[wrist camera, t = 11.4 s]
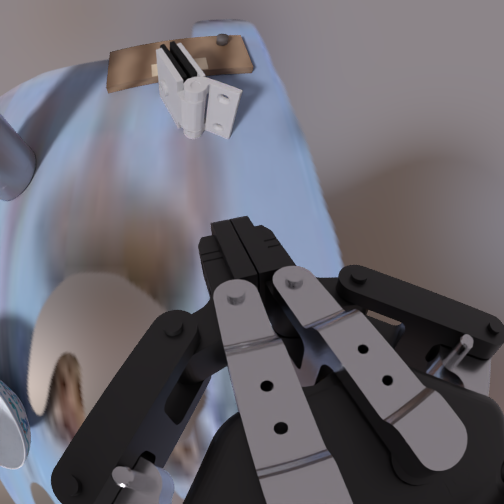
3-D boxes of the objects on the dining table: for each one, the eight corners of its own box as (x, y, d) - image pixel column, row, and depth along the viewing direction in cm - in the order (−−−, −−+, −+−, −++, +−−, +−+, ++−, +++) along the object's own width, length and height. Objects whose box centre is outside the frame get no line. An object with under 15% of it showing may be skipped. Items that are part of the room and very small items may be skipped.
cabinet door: (108, 93, 35) (104, 81, 32) (111, 57, 36) (108, 46, 33) (251, 73, 40) (255, 60, 37) (239, 40, 41) (242, 29, 38)
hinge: (232, 136, 37) (244, 91, 28) (203, 157, 36) (207, 113, 26) (175, 83, 37) (175, 37, 27) (147, 100, 36) (140, 54, 26)
